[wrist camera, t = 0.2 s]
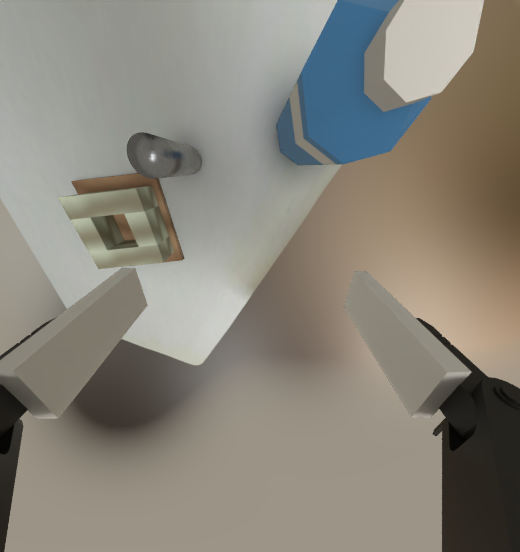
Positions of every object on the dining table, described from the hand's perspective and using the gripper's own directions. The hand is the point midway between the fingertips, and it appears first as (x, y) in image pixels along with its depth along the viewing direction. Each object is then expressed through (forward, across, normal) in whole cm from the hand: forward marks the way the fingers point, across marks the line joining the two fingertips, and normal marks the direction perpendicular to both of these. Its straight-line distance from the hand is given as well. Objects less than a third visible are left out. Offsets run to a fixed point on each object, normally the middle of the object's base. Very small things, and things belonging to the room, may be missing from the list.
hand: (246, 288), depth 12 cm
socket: (+27, -22, -3) cm, 35 cm away
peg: (+27, -11, +7) cm, 30 cm away
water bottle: (+27, +8, +12) cm, 31 cm away
